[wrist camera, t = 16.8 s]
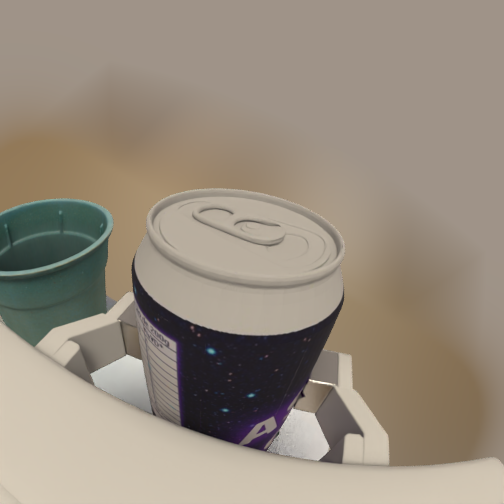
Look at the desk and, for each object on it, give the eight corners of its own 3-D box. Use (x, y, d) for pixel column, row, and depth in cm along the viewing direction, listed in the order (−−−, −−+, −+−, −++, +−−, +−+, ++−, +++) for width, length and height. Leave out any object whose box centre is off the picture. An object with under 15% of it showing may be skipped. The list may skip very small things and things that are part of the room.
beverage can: (231, 501, 9) (323, 341, 4) (137, 438, 11) (83, 216, 6) (283, 423, 14) (373, 226, 8) (200, 377, 16) (220, 175, 10)
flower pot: (85, 288, 39) (73, 187, 31) (153, 349, 32) (147, 228, 25) (-1, 333, 26) (-39, 226, 18) (49, 422, 19) (-23, 303, 12)
